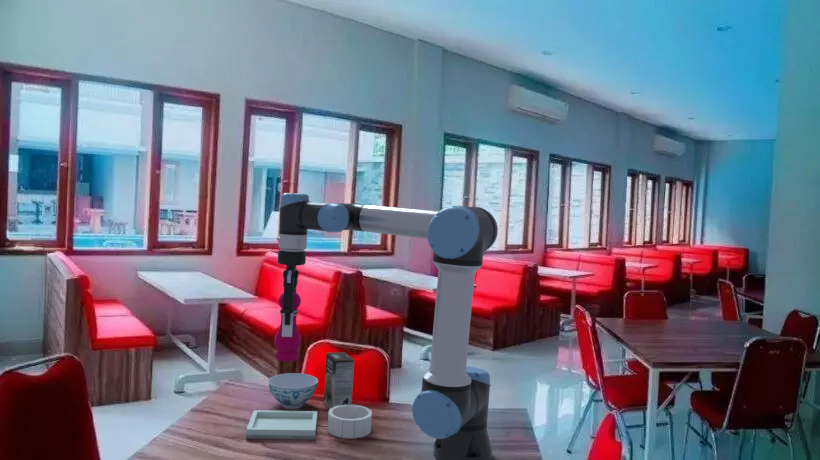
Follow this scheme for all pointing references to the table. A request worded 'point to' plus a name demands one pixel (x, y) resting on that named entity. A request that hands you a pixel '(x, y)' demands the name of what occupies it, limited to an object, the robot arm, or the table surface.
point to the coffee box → (338, 379)
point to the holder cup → (349, 421)
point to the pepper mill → (288, 344)
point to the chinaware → (292, 388)
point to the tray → (282, 425)
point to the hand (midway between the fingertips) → (288, 333)
